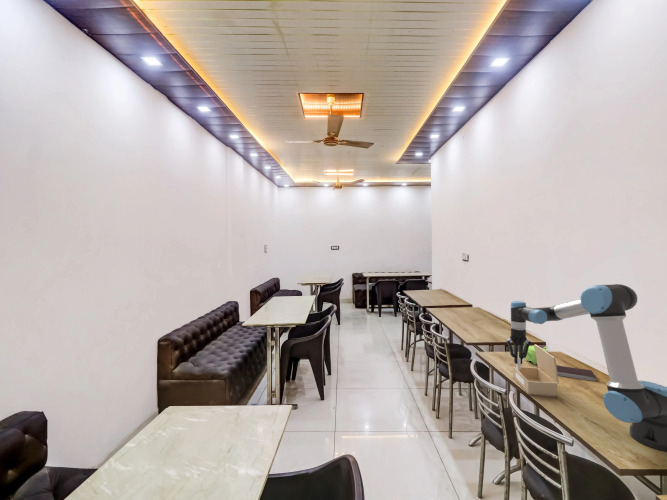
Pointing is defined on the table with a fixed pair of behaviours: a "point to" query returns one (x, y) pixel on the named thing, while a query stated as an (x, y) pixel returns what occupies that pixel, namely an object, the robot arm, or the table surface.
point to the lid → (546, 363)
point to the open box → (535, 381)
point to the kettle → (532, 354)
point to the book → (576, 373)
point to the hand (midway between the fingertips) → (518, 369)
